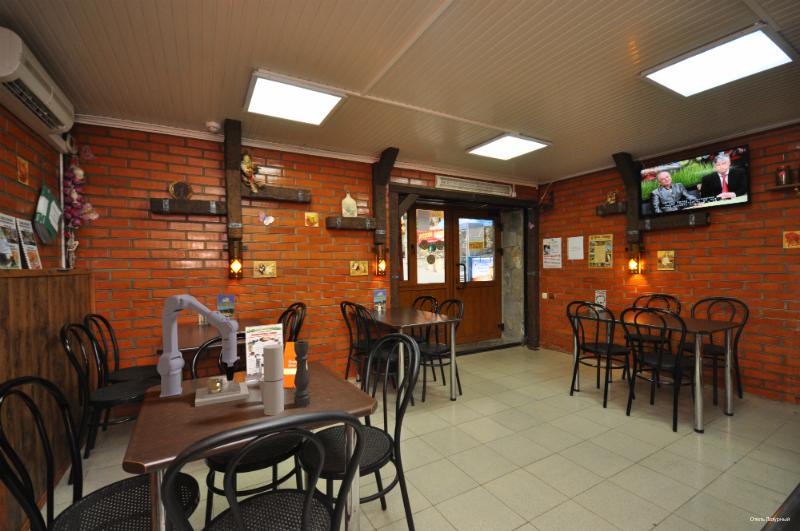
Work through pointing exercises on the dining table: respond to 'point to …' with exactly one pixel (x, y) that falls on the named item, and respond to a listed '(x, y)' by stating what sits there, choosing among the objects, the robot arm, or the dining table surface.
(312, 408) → the dining table surface
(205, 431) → the dining table surface
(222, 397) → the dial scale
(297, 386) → the candle holder
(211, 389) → the brass weight
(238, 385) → the scale pan
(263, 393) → the smoothie
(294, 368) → the orange juice
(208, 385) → the brass weight
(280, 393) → the cylindrical container
